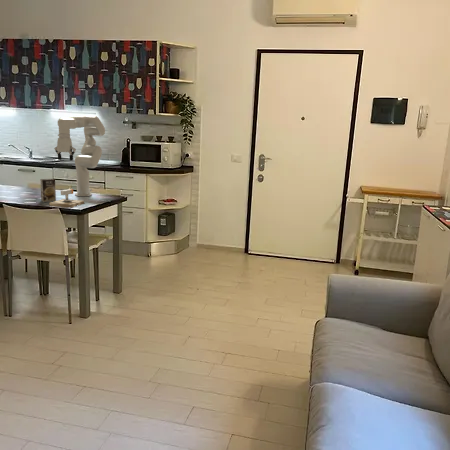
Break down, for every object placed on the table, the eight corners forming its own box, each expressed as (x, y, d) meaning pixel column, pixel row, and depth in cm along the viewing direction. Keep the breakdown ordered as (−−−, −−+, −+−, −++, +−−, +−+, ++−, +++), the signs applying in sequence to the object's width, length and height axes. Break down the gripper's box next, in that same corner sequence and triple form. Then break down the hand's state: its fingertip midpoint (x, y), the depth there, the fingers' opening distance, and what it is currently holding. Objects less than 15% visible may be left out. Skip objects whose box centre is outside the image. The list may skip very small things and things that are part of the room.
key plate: (63, 201, 345) (63, 198, 344) (84, 203, 340) (84, 200, 340) (49, 205, 329) (49, 202, 328) (70, 207, 324) (70, 204, 324)
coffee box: (43, 202, 339) (42, 180, 335) (41, 200, 344) (39, 178, 340) (56, 201, 344) (55, 179, 341) (53, 199, 349) (52, 178, 346)
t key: (64, 202, 329) (64, 191, 327) (60, 201, 331) (59, 190, 329) (74, 200, 337) (74, 189, 336) (69, 199, 339) (69, 188, 337)
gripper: (50, 135, 337) (52, 159, 341) (72, 137, 332) (72, 161, 336) (57, 135, 344) (58, 158, 348) (78, 136, 339) (78, 160, 343)
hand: (65, 159), depth 342 cm, fingers open, 9 cm apart
